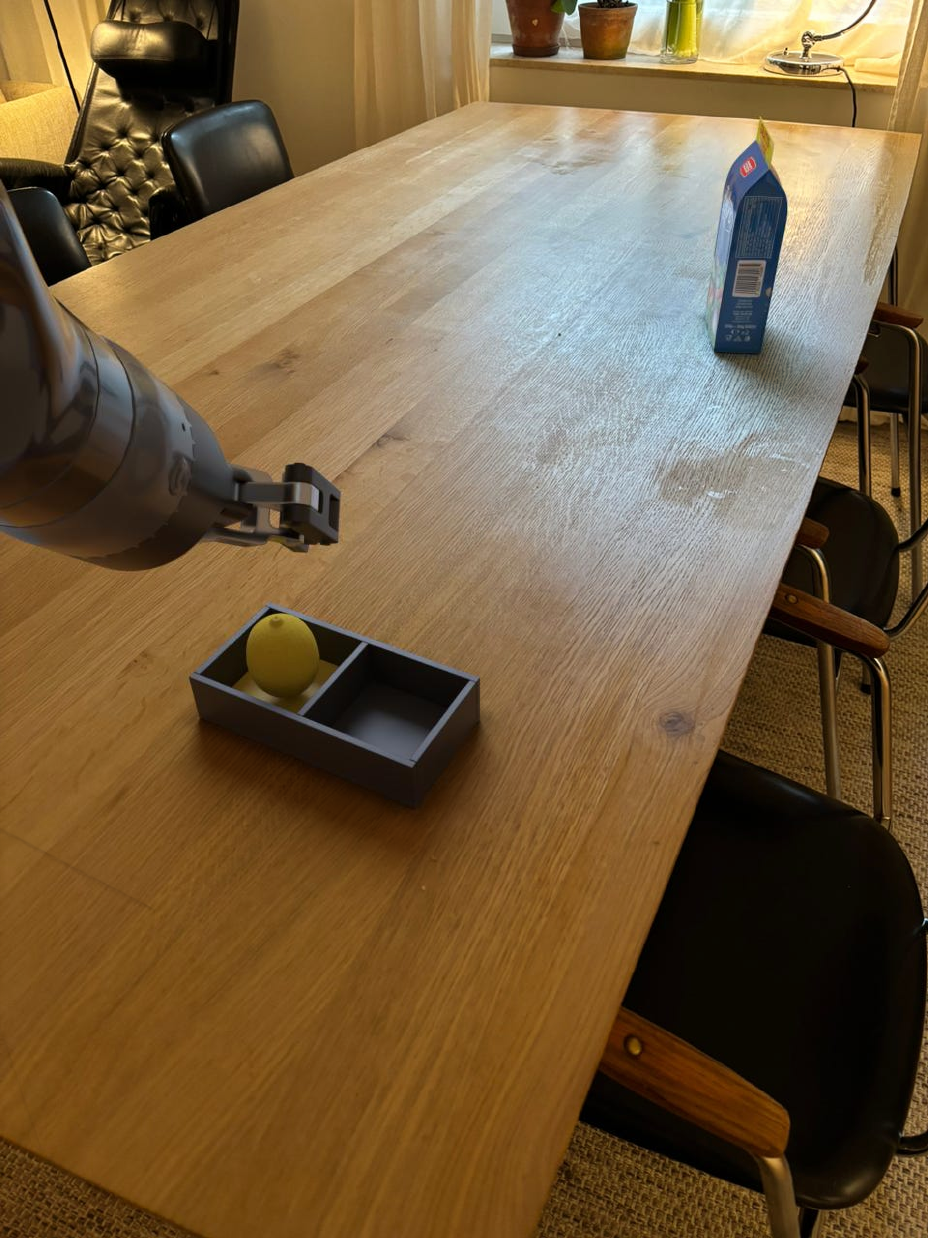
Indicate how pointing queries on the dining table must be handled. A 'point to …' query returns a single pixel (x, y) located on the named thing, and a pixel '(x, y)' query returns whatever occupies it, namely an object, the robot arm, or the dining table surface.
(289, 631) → the lemon
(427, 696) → the sorter
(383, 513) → the dining table surface
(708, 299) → the blue food package
